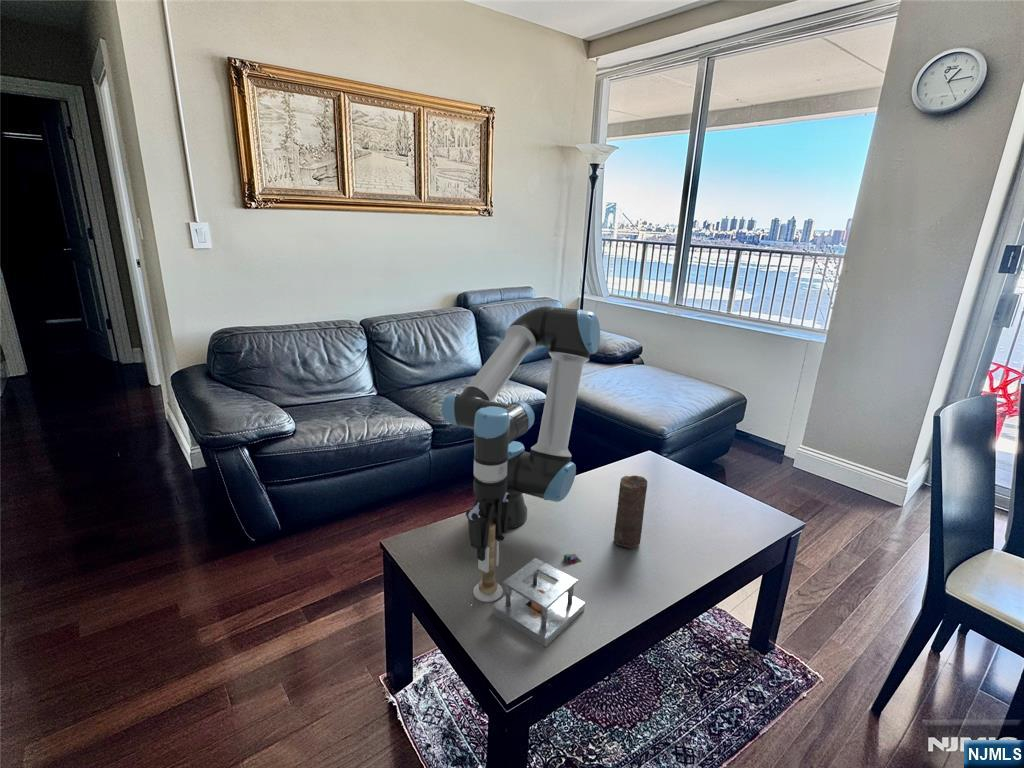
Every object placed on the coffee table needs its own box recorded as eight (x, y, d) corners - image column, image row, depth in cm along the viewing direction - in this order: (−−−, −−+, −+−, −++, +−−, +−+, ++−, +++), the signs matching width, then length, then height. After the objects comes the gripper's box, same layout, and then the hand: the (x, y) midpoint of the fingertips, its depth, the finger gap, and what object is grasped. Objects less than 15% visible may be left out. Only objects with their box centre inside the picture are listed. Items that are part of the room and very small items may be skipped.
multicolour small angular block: (569, 567, 135) (570, 559, 135) (563, 561, 138) (564, 553, 137) (582, 562, 137) (583, 555, 137) (576, 557, 140) (577, 549, 139)
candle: (640, 553, 141) (648, 487, 136) (613, 549, 143) (619, 483, 137) (639, 537, 148) (647, 474, 143) (613, 534, 150) (619, 471, 144)
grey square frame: (492, 612, 118) (493, 582, 115) (533, 581, 129) (534, 552, 126) (545, 647, 109) (547, 614, 106) (584, 609, 120) (586, 579, 117)
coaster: (467, 592, 124) (467, 591, 124) (487, 578, 129) (487, 577, 129) (488, 606, 120) (488, 605, 120) (508, 591, 125) (508, 590, 125)
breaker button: (527, 610, 118) (528, 595, 117) (537, 602, 121) (538, 587, 120) (540, 618, 116) (541, 603, 115) (549, 609, 119) (550, 594, 118)
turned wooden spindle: (474, 587, 124) (475, 525, 119) (487, 579, 127) (488, 517, 122) (488, 596, 121) (490, 532, 116) (500, 587, 124) (502, 524, 119)
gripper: (478, 494, 107) (476, 590, 114) (525, 469, 119) (521, 558, 126) (453, 482, 112) (452, 575, 119) (501, 460, 124) (498, 545, 130)
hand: (488, 566), depth 122 cm, fingers closed on turned wooden spindle, 3 cm apart
